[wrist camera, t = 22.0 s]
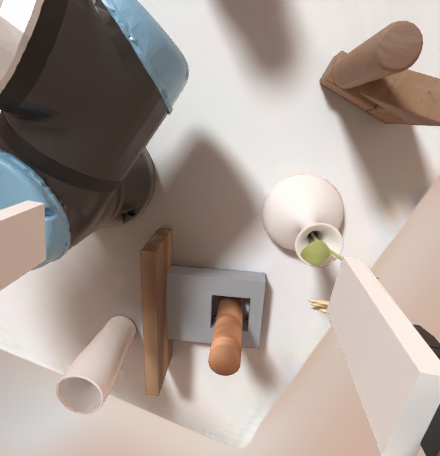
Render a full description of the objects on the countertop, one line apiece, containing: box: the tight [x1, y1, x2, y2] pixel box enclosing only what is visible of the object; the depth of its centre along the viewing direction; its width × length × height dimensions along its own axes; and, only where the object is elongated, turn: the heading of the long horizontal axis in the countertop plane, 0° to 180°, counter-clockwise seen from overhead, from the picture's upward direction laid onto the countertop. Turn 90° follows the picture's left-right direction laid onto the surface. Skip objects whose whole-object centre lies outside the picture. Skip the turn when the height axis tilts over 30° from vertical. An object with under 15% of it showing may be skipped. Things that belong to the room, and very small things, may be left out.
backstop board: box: [140, 229, 172, 396], centre depth 50 cm, size 2×24×9 cm, turn 177°
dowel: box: [208, 296, 243, 376], centre depth 47 cm, size 4×4×14 cm
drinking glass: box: [56, 316, 136, 414], centre depth 50 cm, size 7×7×15 cm
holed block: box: [167, 265, 266, 348], centre depth 52 cm, size 15×12×3 cm
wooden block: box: [320, 21, 440, 126], centre depth 33 cm, size 4×11×18 cm, turn 61°
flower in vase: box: [262, 174, 379, 313], centre depth 36 cm, size 13×11×25 cm
